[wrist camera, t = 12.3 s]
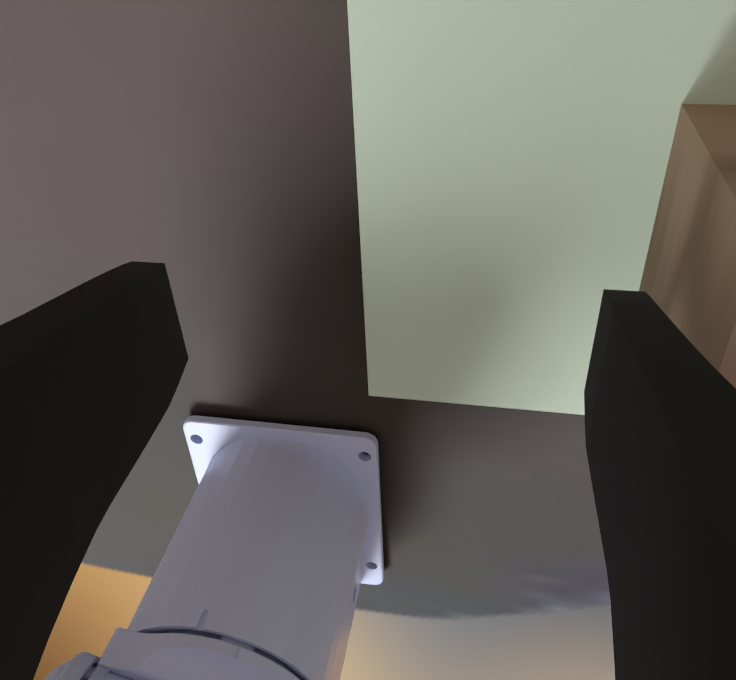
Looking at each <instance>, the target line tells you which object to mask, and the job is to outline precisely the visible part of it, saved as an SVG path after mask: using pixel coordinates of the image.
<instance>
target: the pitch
mask: <svg viewBox="0 0 736 680" xmlns="http://www.w3.org/2000/svg"><path fill="white" fill-rule="evenodd" d="M347 6H348V24H349V43H350V61H351V80H352V98H353V116H354V135H355V153H356V171H357V190H358V208H359V226H360V245H361V263H362V281H363V300H364V318H365V336H366V355H367V373H368V391H369V396H378V397H389V398H400V399H411V400H423V401H434V402H445V403H456V404H468V405H479V406H490V407H501V408H512V409H524V410H535V411H546V412H557V413H569V414H580V415H585V407H584V389H585V384H586V379H587V373H588V368H589V363H590V358H591V353H592V347H593V342H594V337H595V332H596V326H597V321H598V316H599V311H600V305H601V300H602V295H603V290H604V289H610V290H627V291H639V288H640V283H641V279H642V275H643V270H644V266H645V261H646V257H647V253H648V248H649V244H650V240H651V235H652V231H653V226H654V222H655V218H656V213H657V209H658V204H659V200H660V196H661V191H662V187H663V182H664V178H665V174H666V169H667V165H668V160H669V156H670V152H671V147H672V143H673V138H674V134H675V130H676V125H677V121H678V116H679V112H680V108H681V104H719V105H736V0H347Z"/></svg>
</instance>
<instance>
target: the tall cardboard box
mask: <svg viewBox="0 0 736 680" xmlns="http://www.w3.org/2000/svg"><path fill="white" fill-rule="evenodd" d="M639 291H644V292H646V293H647V294H648V295H649V296H650V297H651V298H652V299H653V300H654V301H655V303H656V304H657V305H658V306H659V307H660V308H661V309H662V311H663V312H664V313H665V314H666V315H667V316H668V317H669V319H670V320H671V321H672V322H673V323H674V324H675V325H676V327H677V328H678V329H679V330H680V331H681V332H682V333H683V334H684V336H685V337H686V338H687V339H688V340H689V341H690V342H691V343H692V344H693V345H694V347H695V348H696V349H697V350H698V351H699V352H700V353H701V354H702V355H703V356H704V357H705V358H706V359H707V360H708V361H709V362H710V364H711V365H712V366H713V367H714V368H715V369H716V370H717V371H718V372H719V373H720V374H721V375H722V376H723V377H724V378H725V379H726V380H727V381H728V382H729V383H731V384H732V385H733V386H734V387H735V388H736V105H719V104H681V108H680V112H679V116H678V121H677V125H676V130H675V134H674V138H673V143H672V147H671V152H670V156H669V160H668V165H667V169H666V174H665V178H664V182H663V187H662V191H661V196H660V200H659V204H658V209H657V213H656V218H655V222H654V226H653V231H652V235H651V240H650V244H649V248H648V253H647V257H646V261H645V266H644V270H643V275H642V279H641V283H640V288H639Z"/></svg>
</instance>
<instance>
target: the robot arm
mask: <svg viewBox="0 0 736 680" xmlns="http://www.w3.org/2000/svg"><path fill="white" fill-rule="evenodd" d="M187 361H188V355H187V351H186V347H185V343H184V339H183V335H182V331H181V327H180V323H179V319H178V315H177V311H176V307H175V303H174V299H173V295H172V291H171V287H170V283H169V279H168V275H167V271H166V267H165V263H149V262H129V263H126V264H124V265H121V266H119V267H116V268H114V269H112V270H110V271H107V272H105V273H103V274H101V275H99V276H97V277H95V278H93V279H91V280H89V281H87V282H85V283H83V284H81V285H79V286H77V287H75V288H73V289H72V290H70V291H68V292H66V293H64V294H62V295H60V296H58V297H56V298H54V299H52V300H50V301H48V302H46V303H44V304H43V305H41V306H39V307H37V308H35V309H33V310H31V311H29V312H27V313H25V314H23V315H21V316H19V317H17V318H15V319H13V320H11V321H9V322H7V323H4V324H2V325H0V680H33V678H34V675H35V673H36V670H37V667H38V665H39V662H40V660H41V657H42V654H43V652H44V649H45V647H46V644H47V641H48V639H49V636H50V633H51V631H52V629H53V627H54V624H55V622H56V619H57V617H58V615H59V612H60V610H61V608H62V605H63V603H64V600H65V598H66V595H67V593H68V591H69V589H70V586H71V584H72V582H73V579H74V577H75V575H76V573H77V571H78V568H79V566H80V564H81V562H82V560H83V558H84V556H85V553H86V551H87V549H88V547H89V545H90V542H91V540H92V538H93V536H94V534H95V532H96V530H97V528H98V526H99V524H100V522H101V521H102V519H103V517H104V515H105V513H106V511H107V510H108V508H109V506H110V504H111V503H112V501H113V499H114V498H115V496H116V494H117V493H118V491H119V489H120V488H121V486H122V484H123V483H124V481H125V479H126V478H127V476H128V475H129V473H130V471H131V470H132V468H133V466H134V465H135V463H136V461H137V460H138V458H139V456H140V455H141V453H142V451H143V450H144V448H145V446H146V445H147V443H148V441H149V440H150V438H151V436H152V435H153V433H154V431H155V429H156V428H157V426H158V424H159V423H160V421H161V419H162V418H163V416H164V414H165V412H166V410H167V409H168V407H169V405H170V403H171V400H172V398H173V396H174V393H175V391H176V389H177V386H178V384H179V381H180V379H181V376H182V374H183V371H184V368H185V366H186V363H187ZM584 407H585V436H586V450H587V456H588V462H589V468H590V474H591V480H592V486H593V492H594V498H595V504H596V509H597V515H598V521H599V527H600V533H601V538H602V544H603V550H604V556H605V562H606V567H607V574H608V582H609V590H610V598H611V613H612V629H613V645H614V660H615V680H736V388H735V387H734V386H733V385H732V384H731V383H729V382H728V381H727V380H726V379H725V378H724V377H723V376H722V375H721V374H720V373H719V372H718V371H717V370H716V369H715V368H714V367H713V366H712V365H711V364H710V362H709V361H708V360H707V359H706V358H705V357H704V356H703V355H702V354H701V353H700V352H699V351H698V350H697V349H696V348H695V347H694V345H693V344H692V343H691V342H690V341H689V340H688V339H687V338H686V337H685V336H684V334H683V333H682V332H681V331H680V330H679V329H678V328H677V327H676V325H675V324H674V323H673V322H672V321H671V320H670V319H669V317H668V316H667V315H666V314H665V313H664V312H663V311H662V309H661V308H660V307H659V306H658V305H657V304H656V303H655V301H654V300H653V299H652V298H651V297H650V296H649V295H648V294H647V293H646V292H644V291H627V290H610V289H604V290H603V295H602V300H601V305H600V311H599V316H598V321H597V326H596V332H595V337H594V342H593V347H592V353H591V358H590V363H589V368H588V373H587V379H586V384H585V389H584ZM183 430H184V433H185V437H186V440H187V444H188V448H189V451H190V455H191V458H192V462H193V466H194V469H195V473H196V476H197V480H198V484H199V486H198V488H197V490H196V492H195V494H194V496H193V498H192V500H191V502H190V504H189V506H188V508H187V510H186V512H185V514H184V516H183V518H182V520H181V522H180V524H179V526H178V528H177V530H176V532H175V534H174V536H173V538H172V540H171V542H170V544H169V546H168V548H167V550H166V552H165V554H164V556H163V558H162V560H161V562H160V564H159V566H158V568H157V570H156V572H155V574H154V576H153V578H152V580H151V583H150V584H149V587H148V588H147V591H146V592H145V594H144V597H143V598H142V601H141V602H140V605H139V607H138V609H137V611H136V613H135V615H134V617H133V619H132V621H131V623H130V625H129V627H128V629H124V628H120V627H119V628H116V629H115V632H114V634H113V635H112V637H111V639H110V641H109V643H108V645H107V647H106V649H105V651H104V653H103V655H102V657H101V658H100V657H97V656H95V655H92V654H90V653H87V652H82V653H80V654H77V655H76V656H75V657H74V658H72V659H71V660H69V661H67V662H65V663H64V664H61V665H59V666H58V667H56V668H54V669H53V670H52V671H51V672H50V673H49V674H48V675H47V676H46V678H45V679H44V680H340V676H341V671H342V667H343V663H344V658H345V653H346V649H347V643H348V639H349V635H350V630H351V625H352V621H353V616H354V612H355V607H356V603H357V598H358V593H359V589H360V584H361V583H364V584H371V585H377V584H380V583H382V582H383V578H384V558H383V536H382V515H381V493H380V471H379V450H378V440H377V438H376V437H375V436H374V435H372V434H370V433H367V432H359V431H349V430H339V429H328V428H318V427H308V426H298V425H288V424H278V423H267V422H257V421H247V420H237V419H227V418H216V417H206V416H196V415H194V416H189V417H188V418H187V419H186V421H185V423H184V424H183ZM197 435H199V436H200V437H199V436H197ZM362 452H366V453H368V454H364V453H362Z"/></svg>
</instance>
